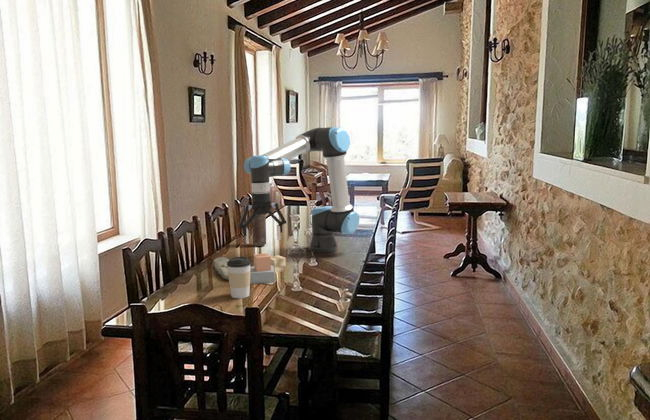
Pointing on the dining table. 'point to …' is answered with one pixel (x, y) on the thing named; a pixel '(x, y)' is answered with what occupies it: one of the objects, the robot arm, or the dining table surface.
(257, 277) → the slate base
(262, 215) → the candle
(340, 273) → the dining table surface
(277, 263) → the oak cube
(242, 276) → the coffee cup
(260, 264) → the terracotta cube
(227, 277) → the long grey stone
